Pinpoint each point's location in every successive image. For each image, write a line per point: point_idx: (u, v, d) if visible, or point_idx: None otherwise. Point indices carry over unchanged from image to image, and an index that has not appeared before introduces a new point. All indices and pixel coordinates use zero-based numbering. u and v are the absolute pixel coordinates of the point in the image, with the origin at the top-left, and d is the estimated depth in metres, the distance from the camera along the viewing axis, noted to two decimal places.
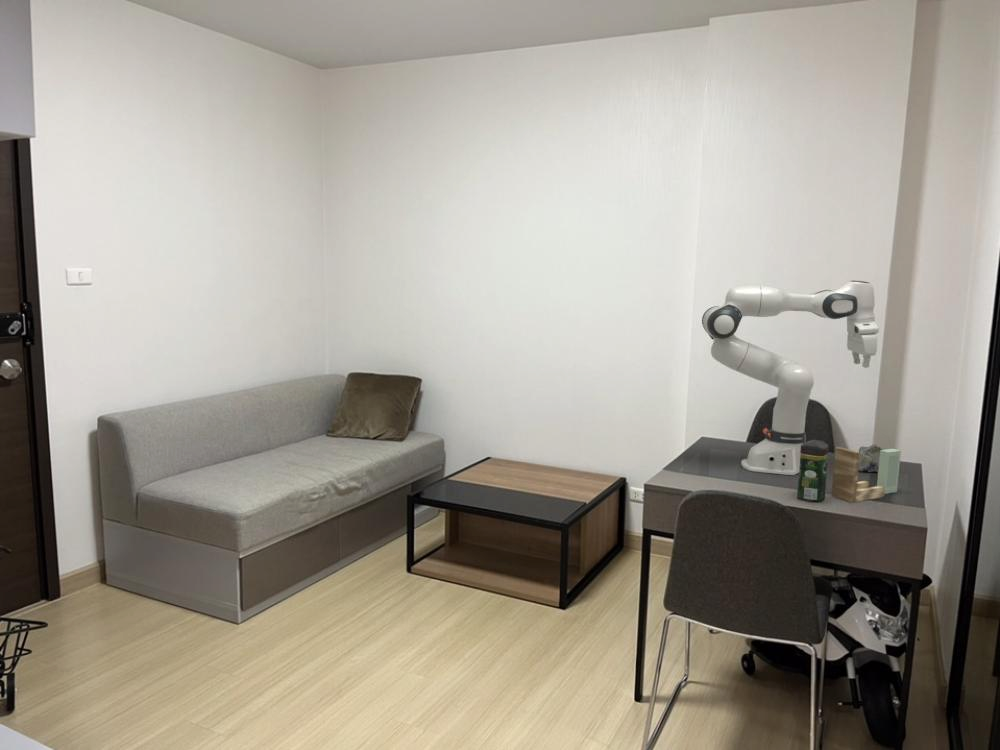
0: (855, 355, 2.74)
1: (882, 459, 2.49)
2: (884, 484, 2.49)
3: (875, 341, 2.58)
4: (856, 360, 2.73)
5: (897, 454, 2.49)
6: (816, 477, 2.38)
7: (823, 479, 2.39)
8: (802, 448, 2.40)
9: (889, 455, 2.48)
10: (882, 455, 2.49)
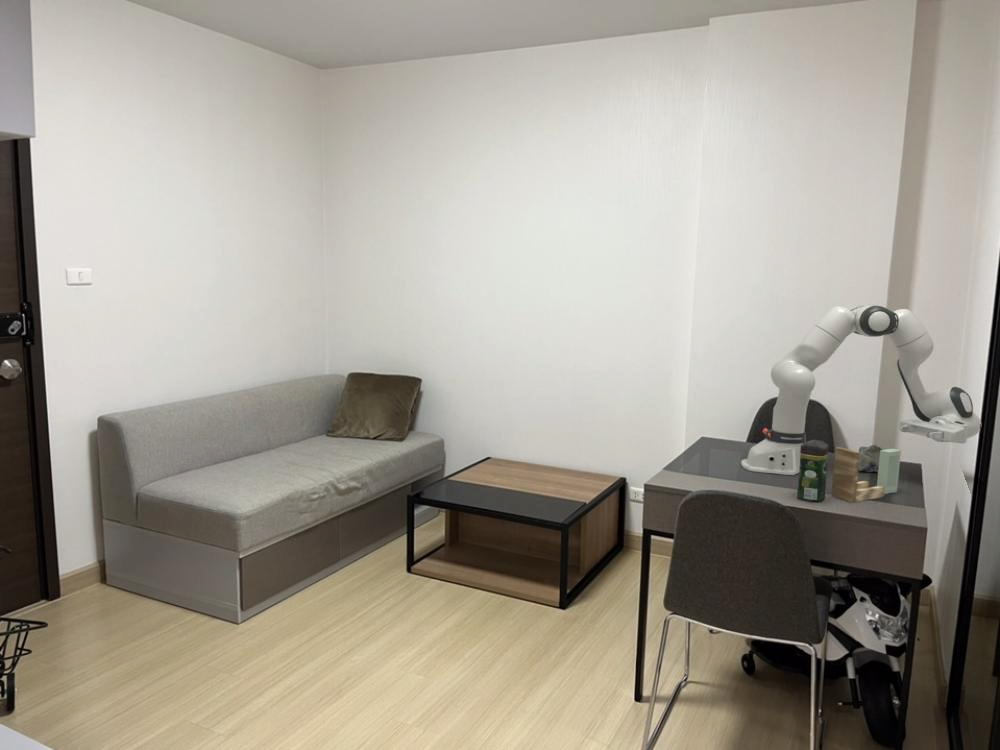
0: None
1: (882, 459, 2.49)
2: (884, 484, 2.49)
3: (961, 440, 2.49)
4: (907, 428, 2.58)
5: (897, 454, 2.49)
6: (816, 477, 2.38)
7: (823, 479, 2.39)
8: (802, 448, 2.40)
9: (889, 455, 2.48)
10: (882, 455, 2.49)
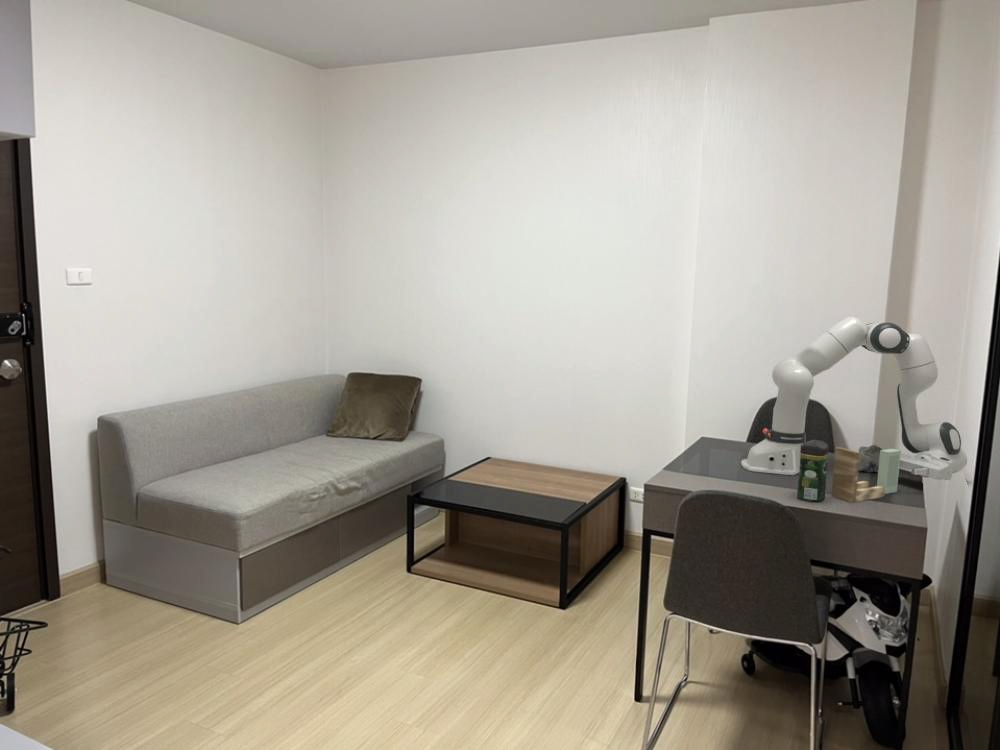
0: None
1: (882, 459, 2.49)
2: (884, 484, 2.49)
3: (946, 477, 2.49)
4: None
5: (897, 454, 2.49)
6: (816, 477, 2.38)
7: (823, 479, 2.39)
8: (802, 448, 2.40)
9: (889, 455, 2.48)
10: (882, 455, 2.49)
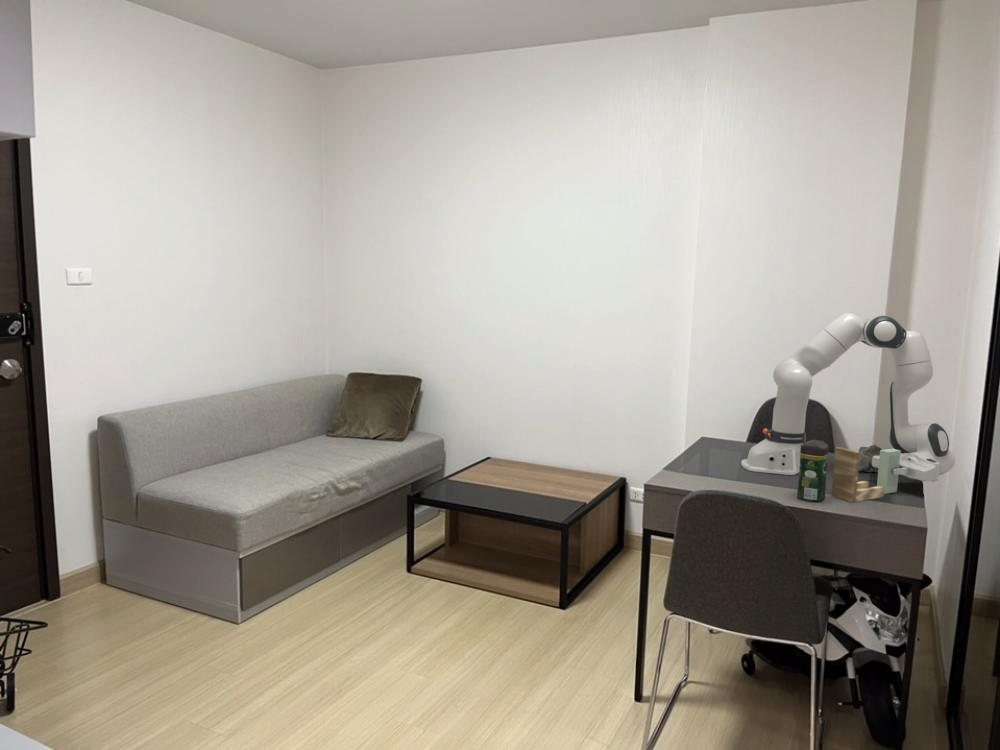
0: None
1: (882, 459, 2.49)
2: (884, 484, 2.49)
3: (932, 479, 2.46)
4: None
5: (897, 454, 2.49)
6: (816, 477, 2.38)
7: (823, 479, 2.39)
8: (802, 448, 2.40)
9: (889, 455, 2.48)
10: (882, 455, 2.49)
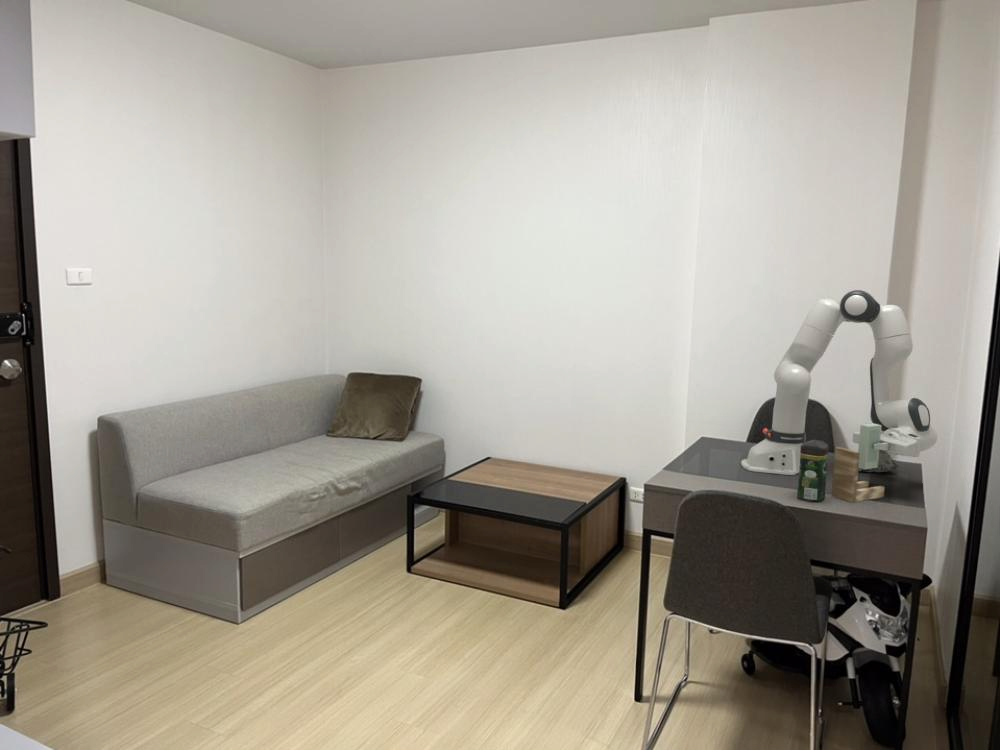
0: None
1: (862, 434, 2.44)
2: (864, 459, 2.43)
3: (913, 454, 2.40)
4: None
5: (878, 429, 2.44)
6: (816, 477, 2.38)
7: (823, 479, 2.39)
8: (802, 448, 2.40)
9: (869, 429, 2.42)
10: (862, 430, 2.44)
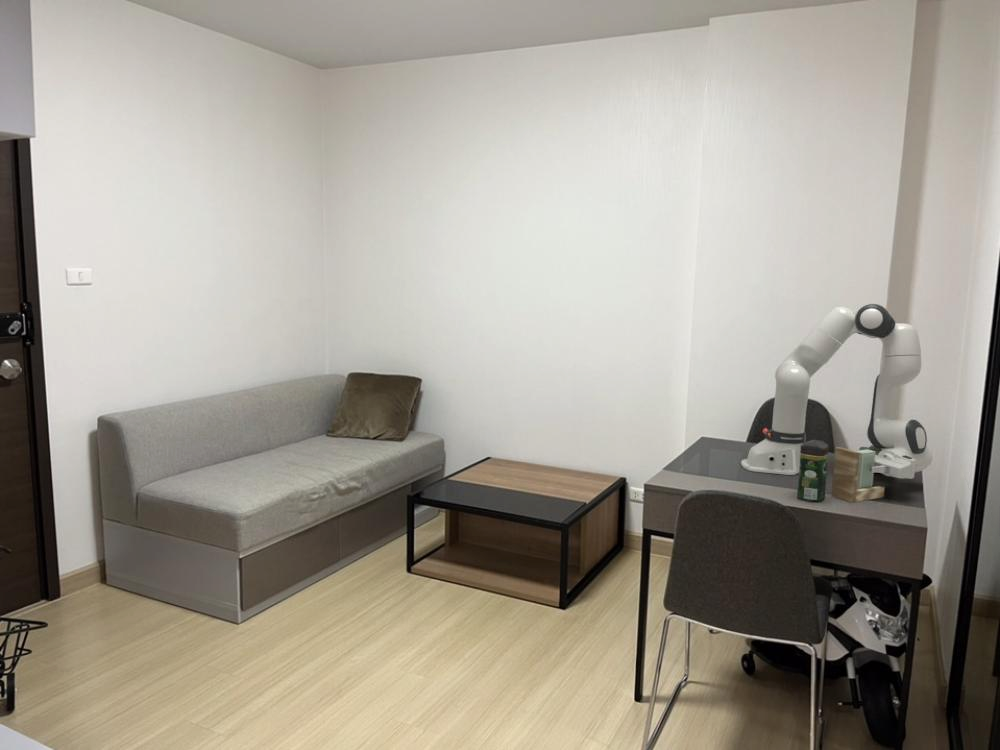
0: None
1: None
2: (858, 486, 2.44)
3: (908, 476, 2.41)
4: None
5: (872, 455, 2.44)
6: (816, 477, 2.38)
7: (823, 479, 2.39)
8: (802, 448, 2.40)
9: (863, 456, 2.42)
10: None
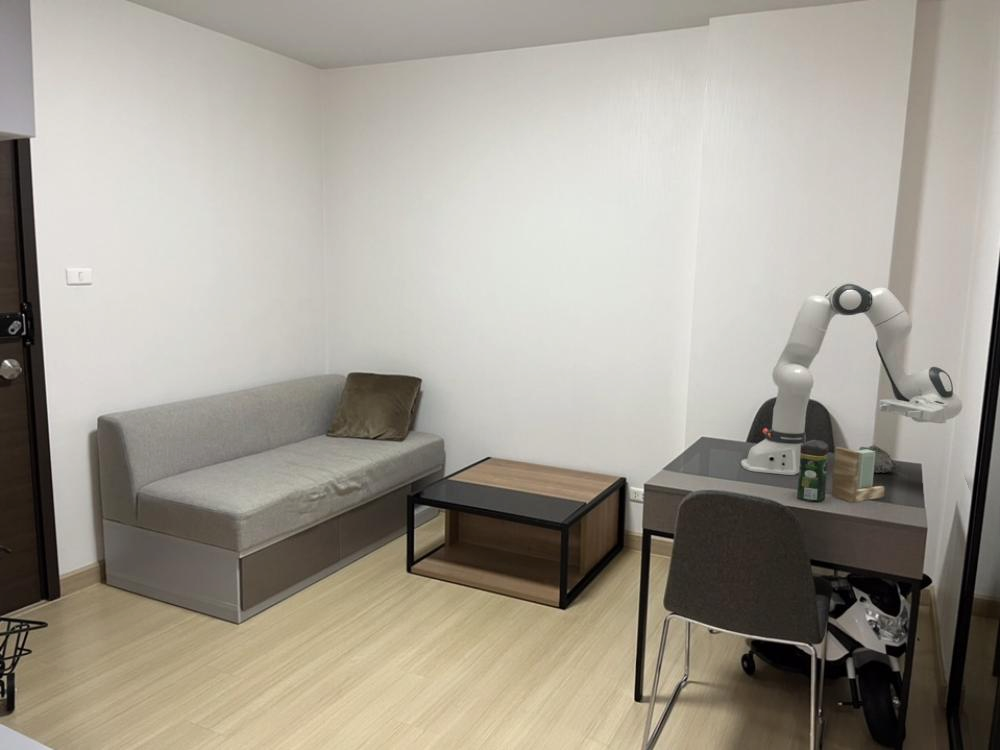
0: None
1: None
2: (858, 486, 2.44)
3: (940, 420, 2.43)
4: (886, 407, 2.52)
5: (872, 455, 2.44)
6: (816, 477, 2.38)
7: (823, 479, 2.39)
8: (802, 448, 2.40)
9: (863, 456, 2.42)
10: None
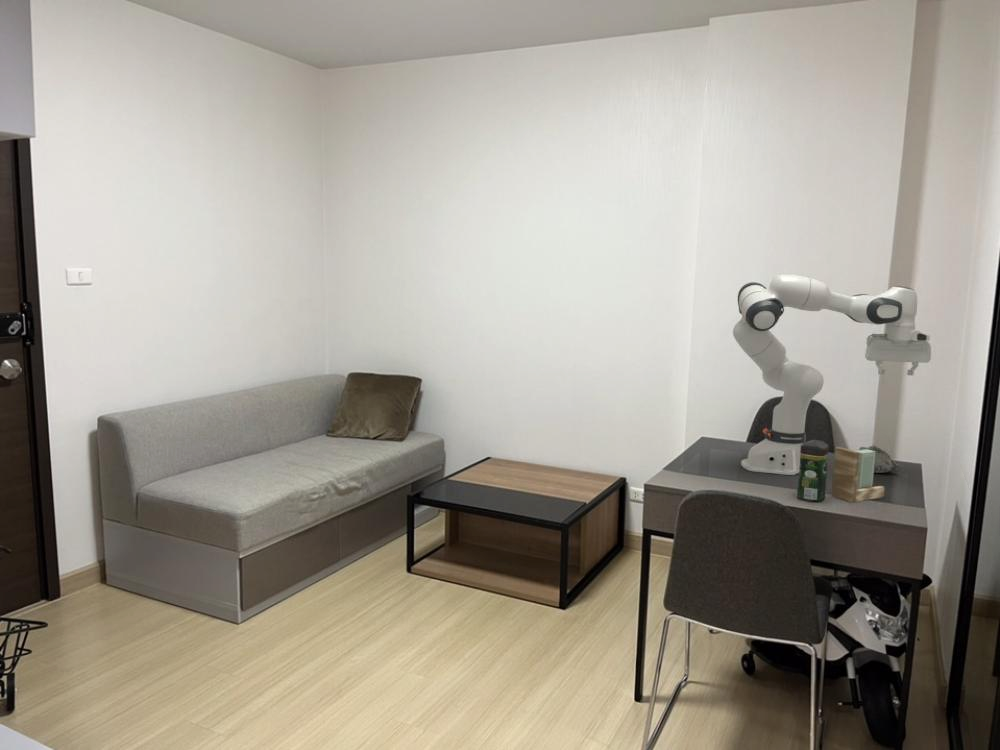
0: None
1: None
2: (858, 486, 2.44)
3: None
4: None
5: (872, 455, 2.44)
6: (816, 477, 2.38)
7: (823, 479, 2.39)
8: (802, 448, 2.40)
9: (863, 456, 2.42)
10: None
